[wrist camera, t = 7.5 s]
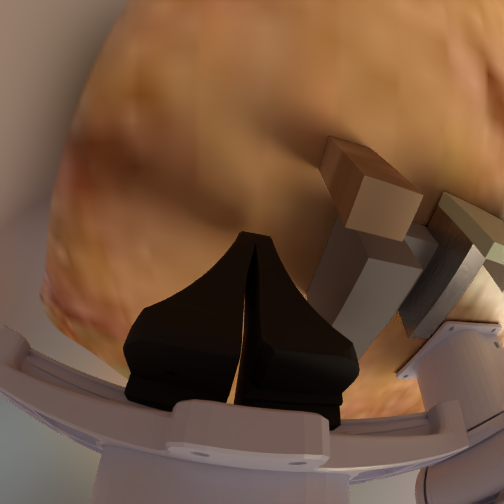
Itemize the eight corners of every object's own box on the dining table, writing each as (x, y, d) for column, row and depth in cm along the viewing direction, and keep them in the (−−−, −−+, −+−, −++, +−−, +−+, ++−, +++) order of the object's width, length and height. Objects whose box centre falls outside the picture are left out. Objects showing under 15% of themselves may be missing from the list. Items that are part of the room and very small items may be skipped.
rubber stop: (422, 223, 13) (462, 278, 9) (378, 303, 16) (396, 361, 12) (342, 200, 12) (368, 257, 9) (306, 292, 16) (312, 356, 12)
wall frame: (506, 239, 12) (545, 288, 8) (492, 260, 13) (527, 311, 9) (331, 129, 10) (369, 165, 6) (314, 167, 11) (338, 224, 7)
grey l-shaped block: (516, 228, 11) (553, 270, 8) (469, 303, 15) (492, 350, 12) (443, 191, 11) (494, 241, 7) (391, 292, 15) (413, 353, 11)
